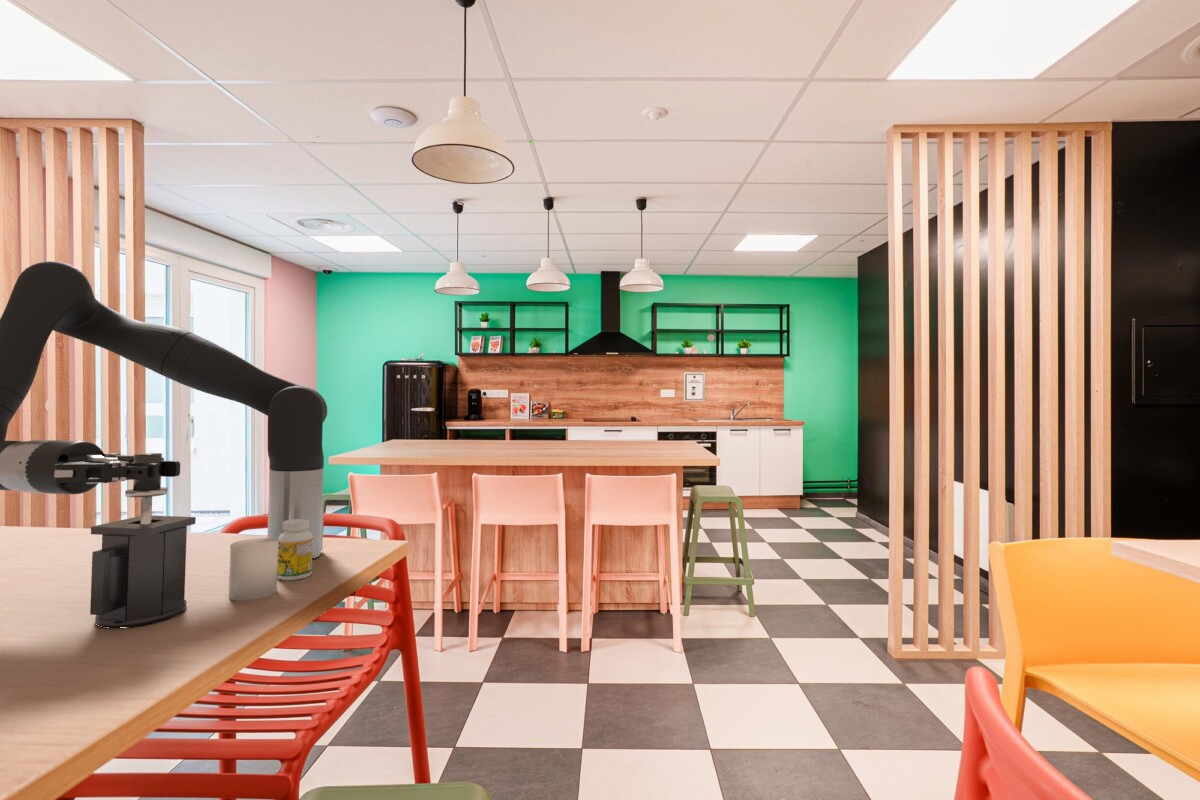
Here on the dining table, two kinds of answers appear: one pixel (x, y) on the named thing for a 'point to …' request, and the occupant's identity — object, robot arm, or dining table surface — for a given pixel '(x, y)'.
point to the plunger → (147, 486)
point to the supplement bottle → (295, 550)
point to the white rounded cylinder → (253, 569)
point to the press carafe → (139, 571)
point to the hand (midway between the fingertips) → (167, 470)
